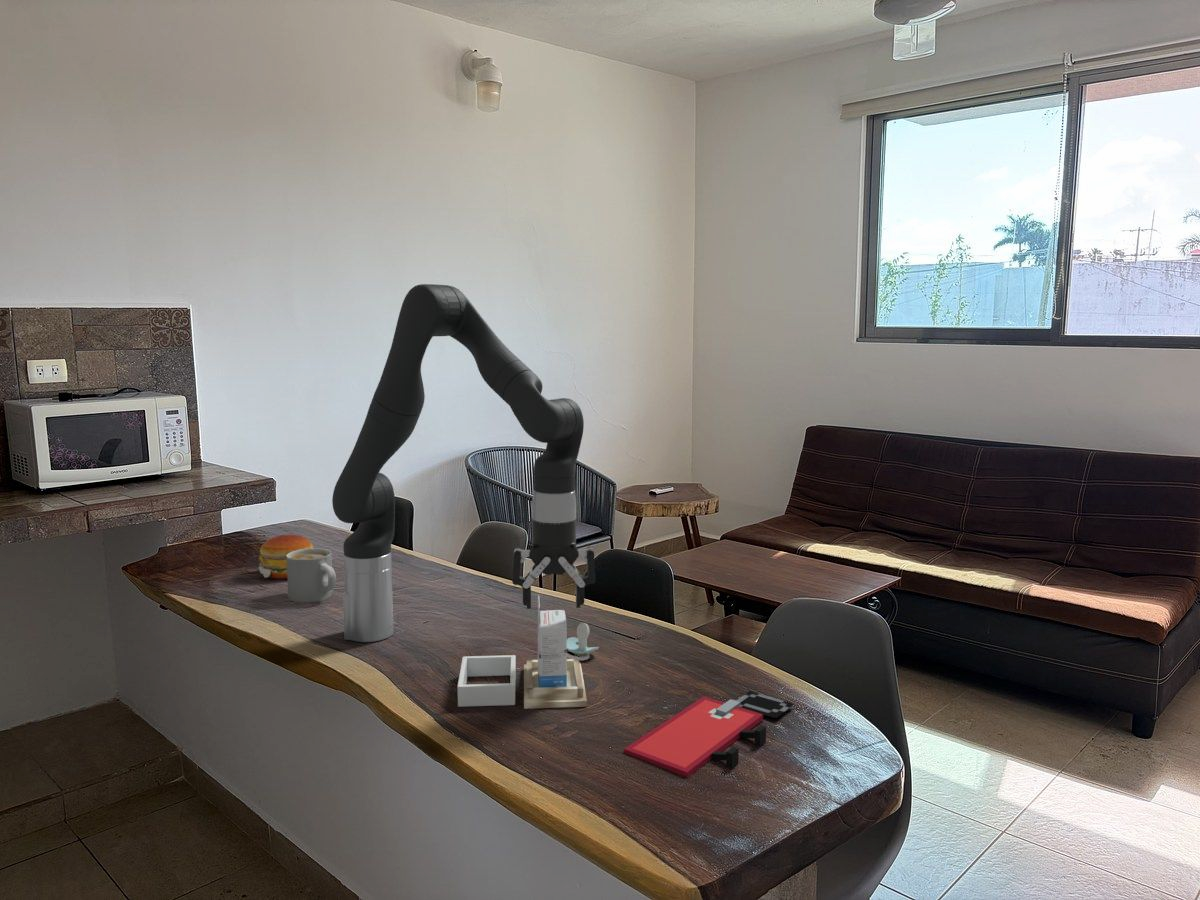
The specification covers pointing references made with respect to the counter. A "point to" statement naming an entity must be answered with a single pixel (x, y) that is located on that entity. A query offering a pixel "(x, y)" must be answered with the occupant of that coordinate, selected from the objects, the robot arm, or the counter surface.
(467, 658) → the box
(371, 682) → the counter surface
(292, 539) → the burger
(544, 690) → the tray
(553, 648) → the ink box
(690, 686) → the counter surface
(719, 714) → the red board with handle
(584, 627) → the pacifier
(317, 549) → the coffee mug
